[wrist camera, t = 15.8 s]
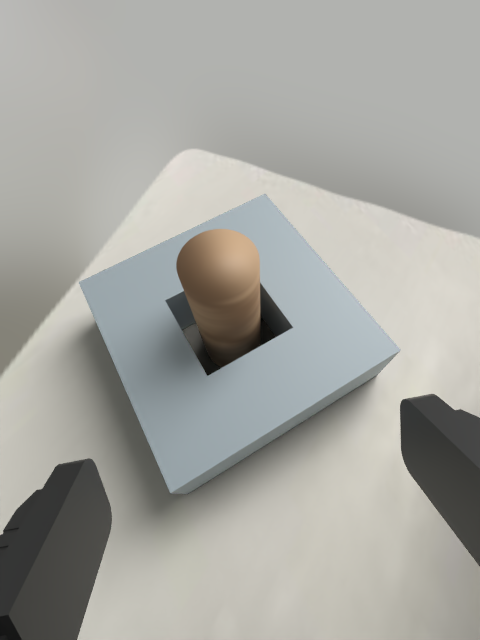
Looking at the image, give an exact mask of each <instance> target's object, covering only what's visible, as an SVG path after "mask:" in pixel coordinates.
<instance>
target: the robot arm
mask: <svg viewBox="0 0 480 640" xmlns="http://www.w3.org/2000/svg"><path fill="white" fill-rule="evenodd" d="M400 421H401V451H402V456H403V460H404V462H405V465H406V467H407V469H408V471H409V473H410V474H411V476H412V477H413V478H414V480H415V481H416V482H417V484H418V485H419V486H420V488H421V489H422V490H423V492H424V493H425V494H426V496H427V497H428V498H429V500H430V501H431V502H432V504H433V505H434V506H435V508H436V509H437V510H438V512H439V513H440V514H441V516H442V517H443V518H444V520H445V521H446V522H447V524H448V525H449V526H450V527H451V529H452V530H453V531H454V533H455V534H456V535H457V537H458V538H459V539H460V541H461V542H462V543H463V545H464V546H465V547H466V549H467V550H468V551H469V553H470V554H471V555H472V557H473V558H474V559H475V561H476V562H477V563H478V565H479V566H480V418H479V417H477V416H474V415H472V414H470V413H468V412H465V411H463V410H456V411H455V410H454V409H452V408H451V407H450V406H449V405H448V404H446V403H445V402H444V401H443V400H442V399H440V398H439V397H438V396H436V395H434V394H429V395H424V396H418V397H413V398H408V399H403V400H402V401H401V405H400ZM111 522H112V515H111V507H110V503H109V501H108V498H107V495H106V492H105V490H104V487H103V484H102V481H101V478H100V476H99V473H98V470H97V467H96V465H95V463H94V461H93V460H92V459H84V460H79V461H74V462H69V463H63V464H59V465H57V466H56V467H55V469H54V470H53V472H52V474H51V475H50V477H49V479H48V480H47V482H46V484H45V486H44V487H43V489H41V490H36V491H35V492H34V493H33V494H32V495H31V496H30V497H29V498H28V499H27V500H26V501H25V502H24V503H23V504H22V505H21V506H20V507H19V508H18V509H17V510H16V511H15V513H14V515H13V516H12V518H11V519H10V521H9V522H8V524H7V525H6V527H5V529H4V530H3V534H2V535H0V640H77V638H78V635H79V631H80V628H81V625H82V622H83V618H84V615H85V612H86V609H87V605H88V602H89V599H90V596H91V592H92V589H93V586H94V583H95V579H96V576H97V573H98V570H99V567H100V563H101V560H102V557H103V554H104V550H105V547H106V544H107V541H108V537H109V534H110V530H111Z"/></svg>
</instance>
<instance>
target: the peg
mask: <svg viewBox="0 0 480 640" xmlns="http://www.w3.org/2000/svg"><path fill="white" fill-rule="evenodd" d="M176 269H177V274H178V277H179V279H180V282H181V285H182V287H183V290H184V292H185V295H186V298H187V300H188V303H189V305H190V308H191V311H192V313H193V316H194V319H195V321H196V324H197V326H198V329H199V332H200V334H201V337H202V339H203V342H204V345H205V347H206V350H207V353H208V355H209V357H210V358H211V360H212V361H213V362H214V363H216V364H217V365H218V366H220V367H224V366H226V365H228V364H230V363H231V362H233V361H235V360H237V359H238V358H240V357H242V356H244V355H245V354H247V353H249V352H251V351H253V350H254V349H256V348H258V347H260V346H261V322H260V258H259V253H258V250H257V248H256V246H255V245H254V243H253V242H252V241H251V240H250V239H249V238H248V237H246V236H245V235H243V234H241V233H239V232H237V231H233V230H229V229H213V230H208V231H205V232H202V233H200V234H198V235H196V236H194V237H193V238H191V239H190V240H189V241H188V242H187V243H186V244H185V245H184V246H183V247H182V249H181V250H180V252H179V254H178V257H177V262H176Z"/></svg>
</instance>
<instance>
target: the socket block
mask: <svg viewBox="0 0 480 640" xmlns="http://www.w3.org/2000/svg"><path fill="white" fill-rule="evenodd" d="M213 229H229V230H233V231H237V232H239V233H241V234H243V235H245V236H246V237H248V238H249V239H250V240H251V241H252V242H253V243H254V245H255V246H256V248H257V250H258V253H259V258H260V315H261V316H262V318H263V319H264V321H265V322H266V324H267V325H268V327H269V328H270V329H271V331H272V332H273V334H274V335H275V338H274V339H272V340H270V341H268V342H267V343H265V344H263V345H261V346H260V347H258V348H256V349H254V350H253V351H251V352H249V353H247V354H245V355H244V356H242V357H240V358H238V359H237V360H235V361H233V362H231V363H230V364H228V365H226V366H224V367H223V368H221V369H219V370H217V371H216V372H214V373H212V374H210V375H208V376H207V374H206V373H205V371H204V369H203V367H202V365H201V364H200V362H199V360H198V358H197V357H196V355H195V353H194V351H193V349H192V348H191V346H190V344H189V342H188V340H187V339H186V337H185V335H184V333H183V332H182V329H184V328H186V327H188V326H190V325H192V324H193V323H195V322H196V321H195V319H194V316H193V313H192V311H191V308H190V305H189V303H188V300H187V298H186V295H185V292H184V290H183V287H182V285H181V282H180V279H179V277H178V274H177V269H176V262H177V257H178V254H179V252H180V250H181V249H182V247H183V246H184V245H185V244H186V243H187V242H188V241H189V240H190V239H191V238H193V237H194V236H196V235H198V234H200V233H202V232H205V231H208V230H213ZM79 284H80V286H81V289H82V291H83V293H84V296H85V298H86V300H87V302H88V305H89V307H90V309H91V312H92V314H93V316H94V319H95V321H96V323H97V325H98V328H99V330H100V332H101V335H102V337H103V339H104V342H105V344H106V346H107V349H108V351H109V353H110V355H111V358H112V360H113V362H114V365H115V367H116V369H117V372H118V374H119V376H120V378H121V381H122V383H123V385H124V388H125V390H126V392H127V395H128V397H129V399H130V401H131V404H132V406H133V408H134V411H135V413H136V415H137V418H138V420H139V422H140V425H141V427H142V429H143V431H144V434H145V436H146V438H147V441H148V443H149V445H150V448H151V450H152V452H153V454H154V457H155V459H156V461H157V464H158V466H159V468H160V471H161V473H162V475H163V477H164V480H165V482H166V484H167V487H168V489H169V491H170V493H173V494H189V493H190V492H192V491H193V490H195V489H197V488H198V487H200V486H201V485H203V484H205V483H206V482H208V481H209V480H211V479H213V478H214V477H216V476H217V475H219V474H220V473H222V472H224V471H225V470H227V469H228V468H230V467H232V466H233V465H235V464H236V463H238V462H240V461H241V460H243V459H244V458H246V457H248V456H249V455H251V454H252V453H254V452H255V451H257V450H259V449H260V448H262V447H263V446H265V445H267V444H268V443H270V442H271V441H273V440H275V439H276V438H278V437H279V436H281V435H282V434H284V433H286V432H287V431H289V430H290V429H292V428H294V427H295V426H297V425H298V424H300V423H302V422H303V421H305V420H306V419H308V418H310V417H311V416H313V415H314V414H316V413H317V412H319V411H321V410H322V409H324V408H325V407H327V406H329V405H330V404H332V403H333V402H335V401H337V400H338V399H340V398H341V397H343V396H344V395H346V394H348V393H349V392H351V391H352V390H354V389H356V388H357V387H359V386H360V385H362V384H364V383H365V382H367V381H368V380H370V379H372V378H373V377H375V376H376V375H378V374H379V373H380V371H381V370H382V369H383V368H384V367H385V366H386V365H387V364H388V363H389V362H390V361H391V360H392V359H393V358H394V357H395V356H396V355H397V353H398V352H399V351H400V349H399V347H398V346H397V345H396V344H395V343H394V342H393V341H392V339H391V338H390V337H389V336H388V335H387V334H386V333H385V331H384V330H383V329H382V328H381V327H380V326H379V324H378V323H377V322H376V321H375V320H374V319H373V318H372V316H371V315H370V314H369V313H368V312H367V311H366V309H365V308H364V307H363V306H362V305H361V304H360V303H359V301H358V300H357V299H356V298H355V297H354V296H353V295H352V293H351V292H350V291H349V290H348V289H347V288H346V286H345V285H344V284H343V283H342V282H341V281H340V280H339V278H338V277H337V276H336V275H335V274H334V273H333V271H332V270H331V269H330V268H329V267H328V266H327V265H326V263H325V262H324V261H323V260H322V259H321V258H320V257H319V255H318V254H317V253H316V252H315V251H314V250H313V248H312V247H311V246H310V245H309V244H308V243H307V242H306V240H305V239H304V238H303V237H302V236H301V235H300V233H299V232H298V231H297V230H296V229H295V228H294V227H293V225H292V224H291V223H290V222H289V221H288V220H287V218H286V217H285V216H284V215H283V214H282V213H281V212H280V210H279V209H278V208H277V207H276V206H275V205H274V204H273V202H272V201H271V200H270V199H269V198H268V197H267V195H266V194H263V195H261V196H259V197H257V198H255V199H253V200H251V201H249V202H246V203H244V204H242V205H240V206H238V207H236V208H234V209H232V210H230V211H228V212H225V213H223V214H221V215H219V216H217V217H215V218H213V219H211V220H209V221H206V222H204V223H202V224H200V225H198V226H196V227H194V228H192V229H190V230H188V231H185V232H183V233H181V234H179V235H177V236H175V237H173V238H171V239H169V240H167V241H164V242H162V243H160V244H158V245H156V246H154V247H152V248H150V249H148V250H146V251H143V252H141V253H139V254H137V255H135V256H133V257H131V258H129V259H127V260H125V261H122V262H120V263H118V264H116V265H114V266H112V267H110V268H108V269H106V270H103V271H101V272H99V273H97V274H95V275H93V276H91V277H89V278H87V279H85V280H82V281H80V282H79Z"/></svg>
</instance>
